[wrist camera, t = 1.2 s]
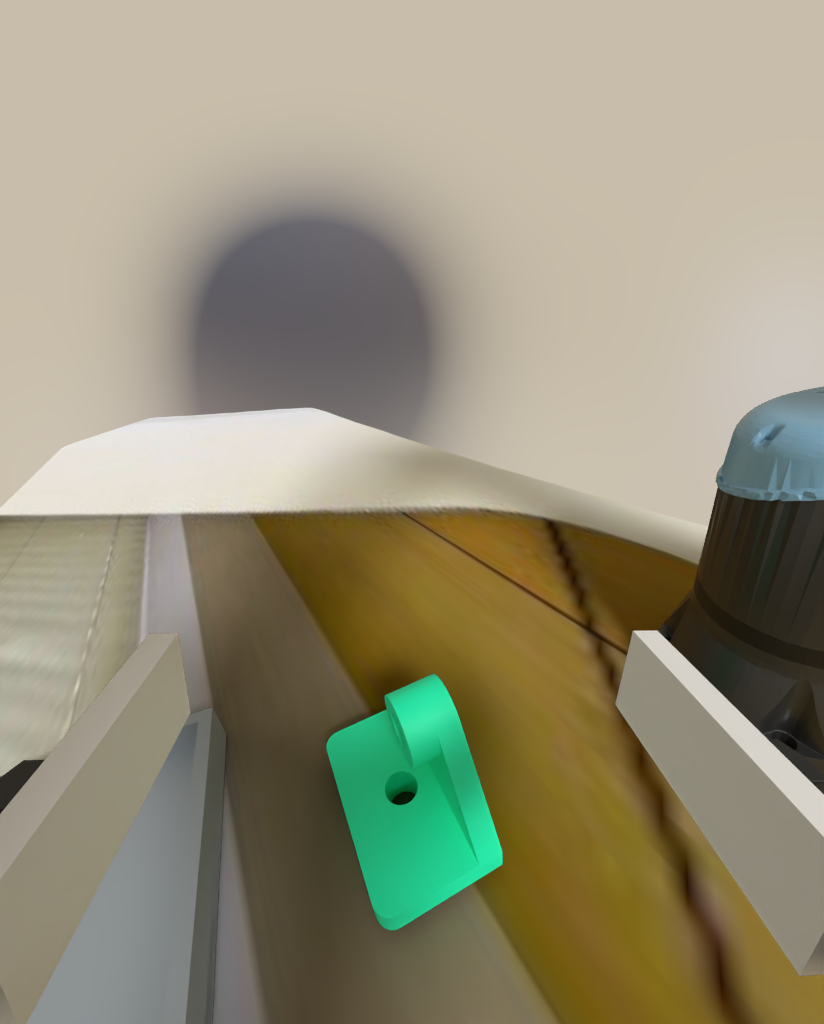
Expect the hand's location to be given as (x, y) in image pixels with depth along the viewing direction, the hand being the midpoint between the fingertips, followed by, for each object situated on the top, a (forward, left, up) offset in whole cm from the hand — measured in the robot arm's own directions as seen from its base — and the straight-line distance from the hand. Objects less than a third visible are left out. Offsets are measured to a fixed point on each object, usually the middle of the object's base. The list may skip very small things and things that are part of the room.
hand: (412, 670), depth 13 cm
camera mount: (0, -8, -22) cm, 24 cm away
